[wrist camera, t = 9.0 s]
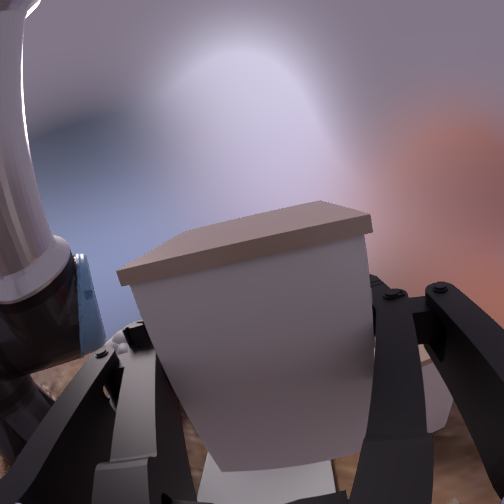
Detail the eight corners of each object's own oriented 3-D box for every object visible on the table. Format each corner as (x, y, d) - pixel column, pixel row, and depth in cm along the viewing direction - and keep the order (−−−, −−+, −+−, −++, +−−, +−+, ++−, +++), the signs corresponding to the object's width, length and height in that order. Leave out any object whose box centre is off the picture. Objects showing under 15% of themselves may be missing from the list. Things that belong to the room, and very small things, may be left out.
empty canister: (377, 455, 18) (384, 374, 15) (360, 405, 25) (356, 325, 23) (447, 427, 17) (469, 340, 15) (420, 385, 24) (426, 304, 22)
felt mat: (195, 512, 15) (193, 510, 15) (215, 426, 27) (214, 424, 27) (337, 504, 14) (337, 502, 14) (321, 413, 26) (321, 410, 25)
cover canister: (217, 474, 10) (116, 271, 8) (233, 385, 17) (184, 231, 15) (374, 451, 9) (369, 213, 7) (343, 365, 16) (319, 200, 14)
